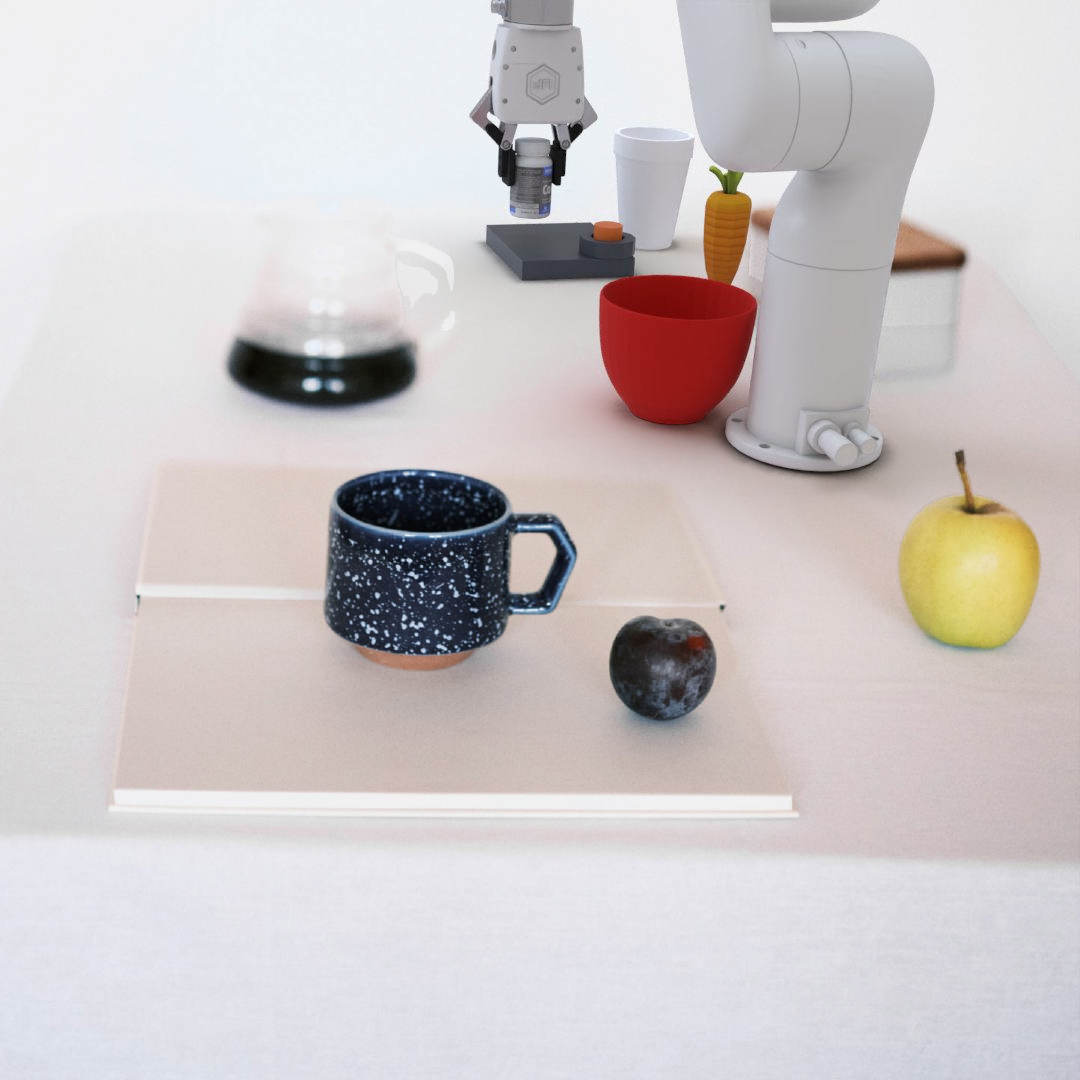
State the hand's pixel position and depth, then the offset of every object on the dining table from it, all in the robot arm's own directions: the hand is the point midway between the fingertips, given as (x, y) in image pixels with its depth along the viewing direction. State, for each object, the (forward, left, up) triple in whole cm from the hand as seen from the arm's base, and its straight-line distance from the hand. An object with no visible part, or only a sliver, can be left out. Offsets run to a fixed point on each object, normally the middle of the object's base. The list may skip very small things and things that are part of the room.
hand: (531, 181), depth 156 cm
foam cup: (+4, -16, -9) cm, 19 cm away
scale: (-2, -3, -8) cm, 9 cm away
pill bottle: (0, 0, -4) cm, 4 cm away
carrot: (-19, -16, -9) cm, 26 cm away
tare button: (-7, -7, -5) cm, 11 cm away
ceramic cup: (-48, 0, -9) cm, 49 cm away
